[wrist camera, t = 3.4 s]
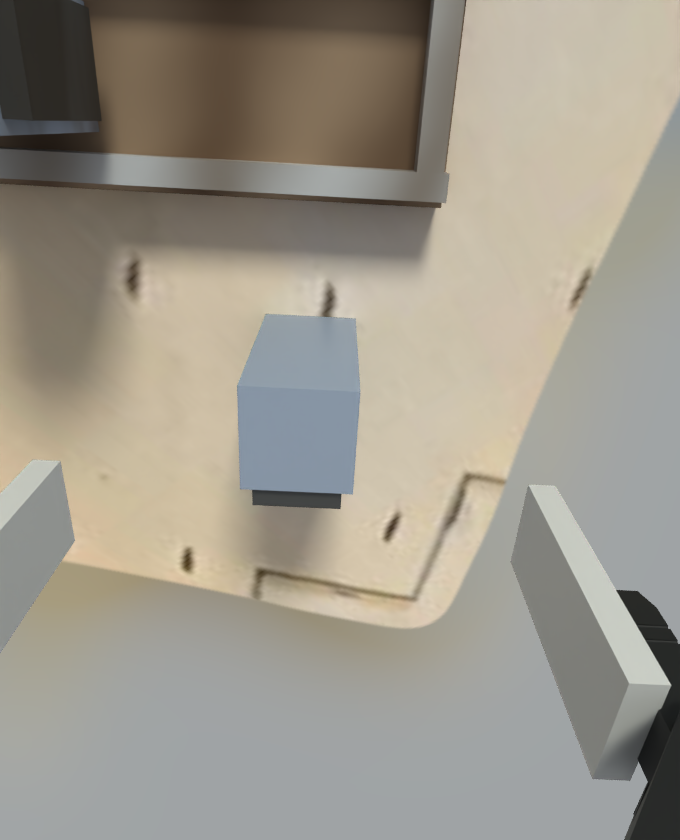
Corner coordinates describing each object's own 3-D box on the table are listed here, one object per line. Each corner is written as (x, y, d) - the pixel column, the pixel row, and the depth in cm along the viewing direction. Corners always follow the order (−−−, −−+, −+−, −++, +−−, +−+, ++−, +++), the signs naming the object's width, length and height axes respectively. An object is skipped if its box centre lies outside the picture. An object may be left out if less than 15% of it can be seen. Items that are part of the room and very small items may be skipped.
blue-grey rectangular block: (266, 410, 28) (240, 507, 21) (265, 313, 26) (237, 385, 19) (349, 414, 28) (351, 512, 21) (355, 318, 26) (360, 391, 19)
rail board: (-9, 179, 24) (-194, 209, 16) (-59, -73, 20) (-335, -207, 12) (436, 204, 24) (484, 246, 16) (465, -40, 20) (546, -147, 12)
